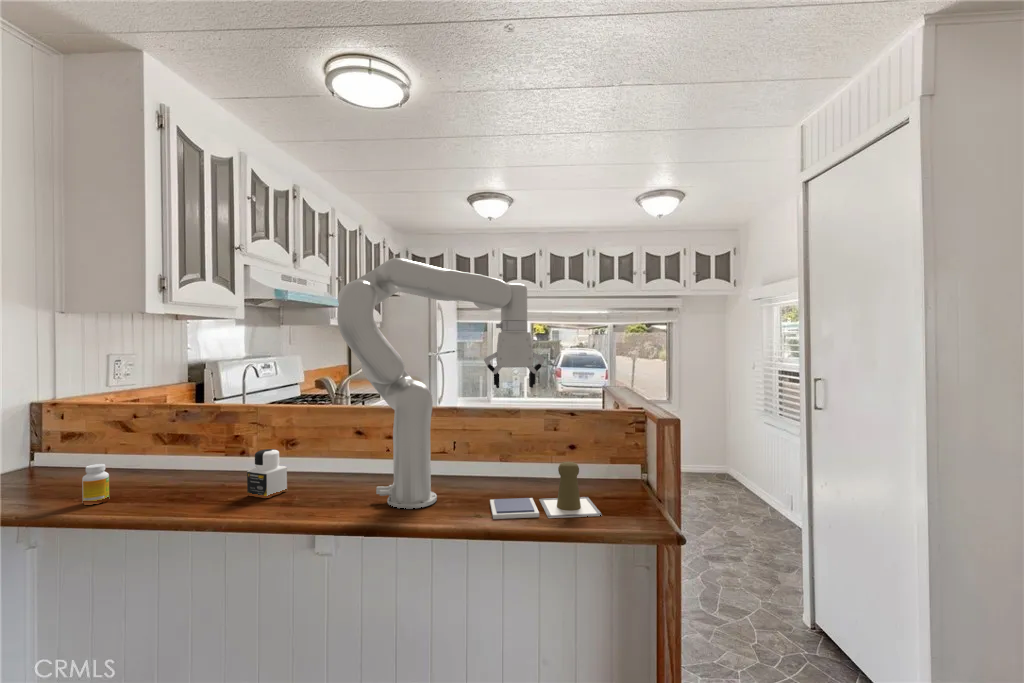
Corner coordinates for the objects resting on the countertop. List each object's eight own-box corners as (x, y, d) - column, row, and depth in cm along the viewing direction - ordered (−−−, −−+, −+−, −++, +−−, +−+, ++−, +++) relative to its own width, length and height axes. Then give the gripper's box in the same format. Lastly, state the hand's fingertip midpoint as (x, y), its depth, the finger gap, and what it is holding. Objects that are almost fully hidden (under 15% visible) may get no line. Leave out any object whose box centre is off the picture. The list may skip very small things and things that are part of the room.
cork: (580, 511, 123) (580, 466, 123) (555, 509, 125) (555, 465, 124) (581, 503, 129) (581, 460, 129) (557, 501, 130) (557, 459, 130)
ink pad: (493, 519, 119) (493, 513, 119) (490, 503, 130) (490, 498, 130) (539, 517, 121) (539, 511, 121) (532, 501, 131) (532, 496, 131)
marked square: (548, 518, 120) (548, 516, 120) (539, 500, 133) (539, 498, 133) (601, 515, 121) (601, 514, 121) (587, 498, 134) (587, 496, 134)
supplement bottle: (111, 502, 132) (110, 465, 132) (84, 507, 128) (83, 469, 128) (107, 497, 136) (106, 461, 136) (81, 502, 132) (80, 465, 132)
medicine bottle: (246, 496, 137) (246, 452, 137) (268, 489, 143) (267, 446, 143) (266, 499, 134) (265, 454, 134) (287, 491, 141) (287, 448, 141)
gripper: (484, 327, 140) (484, 389, 140) (546, 327, 142) (546, 388, 142) (483, 327, 147) (483, 386, 147) (542, 327, 149) (542, 385, 149)
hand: (514, 387), depth 145 cm, fingers open, 9 cm apart
